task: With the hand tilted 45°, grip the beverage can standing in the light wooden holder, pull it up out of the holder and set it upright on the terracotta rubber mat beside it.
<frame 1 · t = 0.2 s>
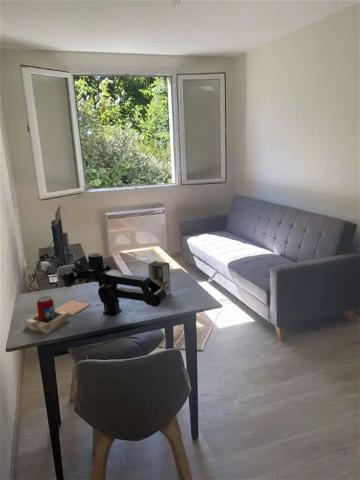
hand: (65, 272, 172), 17 cm above the table, tool horizontal, fingers open, 9 cm apart
beverage can: (48, 324, 158), resting in holder
mat: (71, 308, 172), on the table
holder: (48, 323, 158), on the table
coffee box: (160, 293, 187), on the table
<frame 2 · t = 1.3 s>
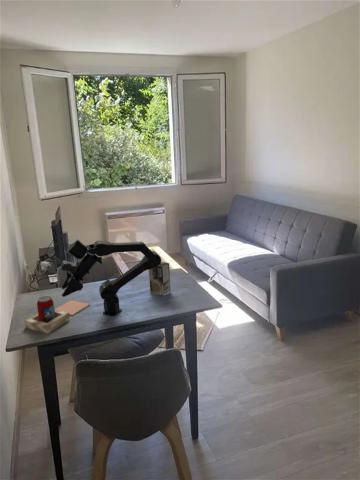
hand: (62, 292, 157), 14 cm above the table, tool tilted 45°, fingers open, 9 cm apart
nothing on the table moved.
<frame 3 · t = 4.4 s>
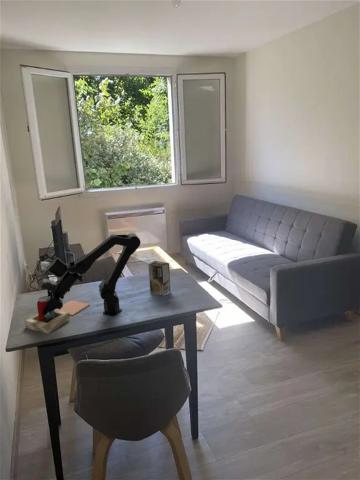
hand: (42, 310, 156), 7 cm above the table, tool tilted 45°, fingers closed on beverage can, 7 cm apart
beverage can: (48, 324, 158), resting in holder, touching gripper
everything else where it was.
when the fingers open (8 cm above the table, at t = 9.6 s): beverage can drops 1 cm, resting on mat.
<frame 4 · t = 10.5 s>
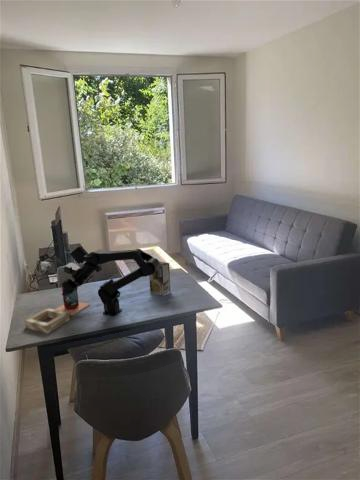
hand: (68, 291, 170), 9 cm above the table, tool tilted 45°, fingers open, 9 cm apart
beverage can: (71, 307, 172), resting on mat
everything else where it was.
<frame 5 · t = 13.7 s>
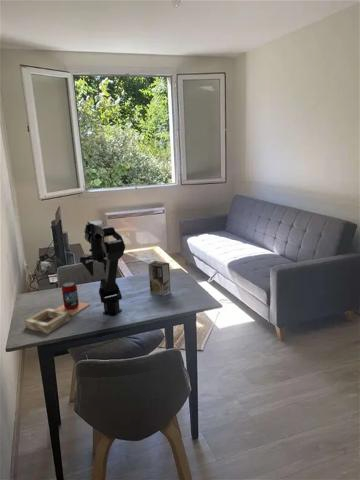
hand: (99, 276, 175), 13 cm above the table, tool pointing down, fingers open, 9 cm apart
nothing on the table moved.
at the end: beverage can inside the target area on the mat (0.2 cm from its centre), point 0.4 cm above the mat's base; beverage can tilted 0°; the gripper is holding nothing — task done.
